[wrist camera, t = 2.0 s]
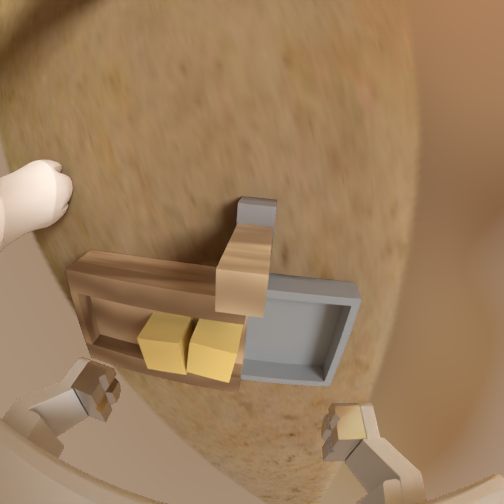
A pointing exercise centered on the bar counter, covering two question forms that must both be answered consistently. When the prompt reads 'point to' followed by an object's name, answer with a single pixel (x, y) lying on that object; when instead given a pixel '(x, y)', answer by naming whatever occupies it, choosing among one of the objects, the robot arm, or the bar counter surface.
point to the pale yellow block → (166, 342)
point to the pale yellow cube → (214, 349)
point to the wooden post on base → (247, 259)
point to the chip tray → (300, 331)
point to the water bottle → (32, 199)
